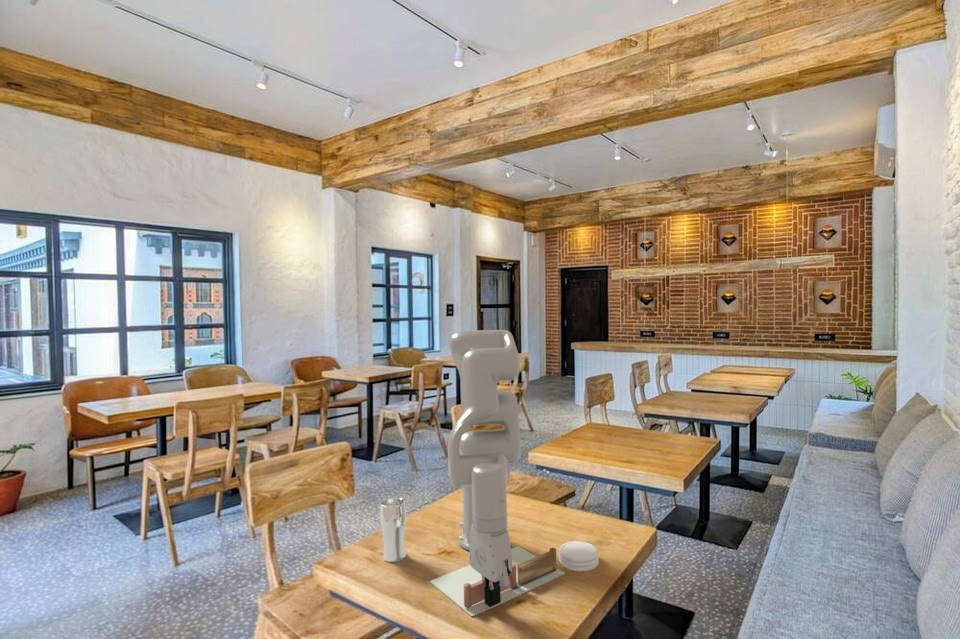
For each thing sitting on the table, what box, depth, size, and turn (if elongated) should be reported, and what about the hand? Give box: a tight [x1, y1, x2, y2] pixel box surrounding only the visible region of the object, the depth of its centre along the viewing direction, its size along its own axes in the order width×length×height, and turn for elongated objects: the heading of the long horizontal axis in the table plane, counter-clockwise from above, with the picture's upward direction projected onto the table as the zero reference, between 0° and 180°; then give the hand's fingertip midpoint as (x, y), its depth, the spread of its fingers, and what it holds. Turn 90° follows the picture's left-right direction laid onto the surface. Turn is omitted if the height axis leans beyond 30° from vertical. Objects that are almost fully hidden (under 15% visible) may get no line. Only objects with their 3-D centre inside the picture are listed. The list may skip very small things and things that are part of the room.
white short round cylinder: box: [558, 540, 600, 573], centre depth 134 cm, size 10×10×4 cm
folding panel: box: [464, 564, 517, 608], centre depth 119 cm, size 15×2×5 cm, turn 126°
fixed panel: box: [517, 547, 558, 584], centre depth 127 cm, size 2×12×5 cm, turn 126°
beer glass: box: [379, 497, 407, 563], centre depth 140 cm, size 7×7×15 cm
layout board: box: [429, 545, 566, 617], centre depth 128 cm, size 18×28×1 cm, turn 126°
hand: (492, 603), depth 114 cm, fingers closed
